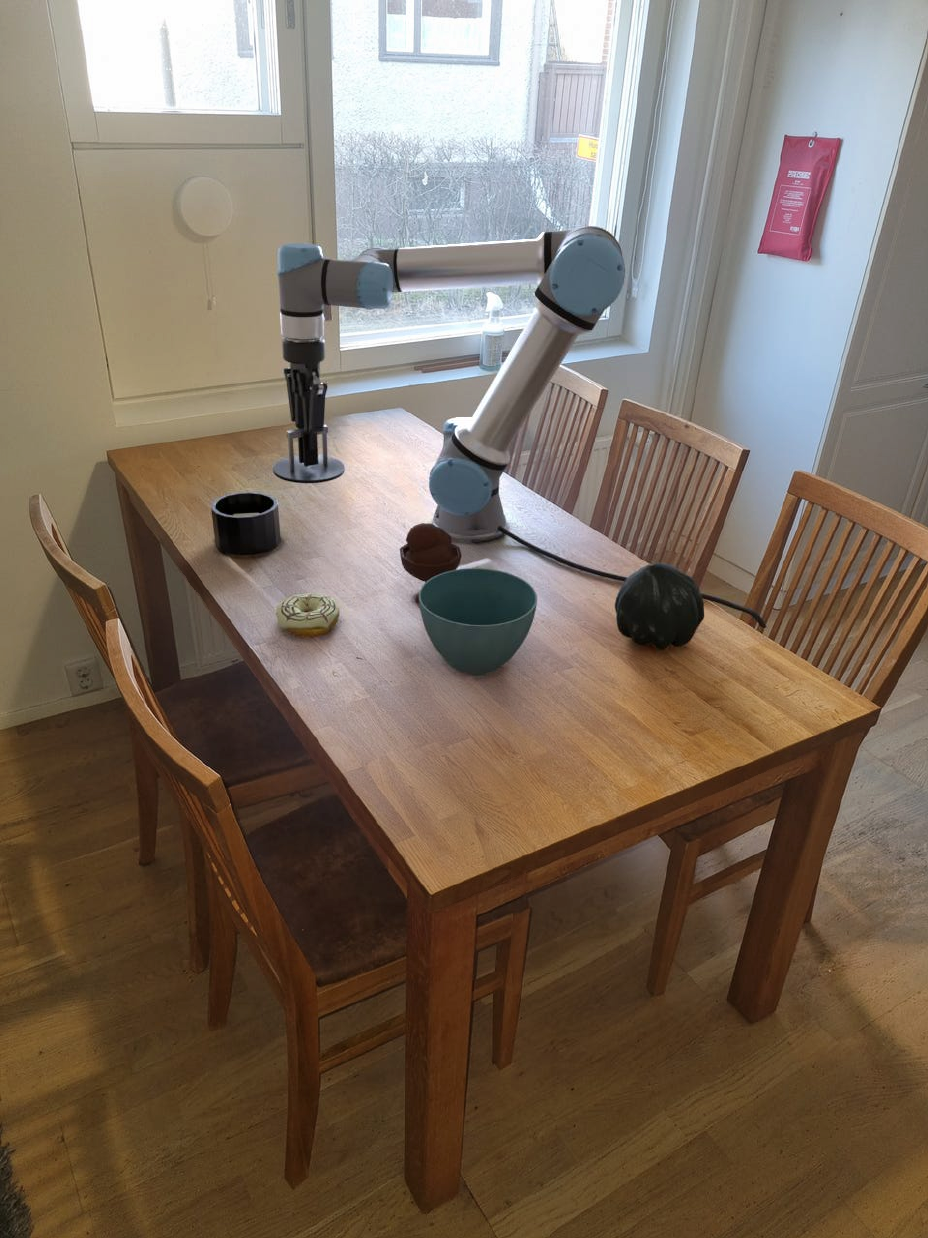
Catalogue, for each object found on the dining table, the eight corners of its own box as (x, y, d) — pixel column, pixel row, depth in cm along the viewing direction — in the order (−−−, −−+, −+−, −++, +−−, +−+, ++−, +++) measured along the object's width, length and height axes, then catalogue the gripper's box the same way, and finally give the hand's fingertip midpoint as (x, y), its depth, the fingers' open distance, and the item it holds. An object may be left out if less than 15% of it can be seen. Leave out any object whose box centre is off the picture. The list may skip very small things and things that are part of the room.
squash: (718, 595, 155) (669, 530, 151) (720, 642, 143) (667, 573, 139) (648, 632, 162) (599, 571, 158) (645, 681, 150) (592, 616, 145)
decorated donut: (274, 641, 149) (272, 621, 147) (281, 608, 158) (279, 589, 156) (337, 640, 149) (336, 620, 147) (341, 607, 159) (340, 588, 157)
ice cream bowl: (454, 617, 157) (456, 539, 149) (392, 609, 159) (391, 531, 151) (466, 589, 166) (468, 514, 158) (407, 582, 168) (407, 507, 160)
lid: (357, 478, 172) (356, 433, 168) (292, 491, 165) (289, 445, 161) (324, 456, 182) (323, 413, 177) (261, 467, 175) (258, 423, 170)
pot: (291, 548, 178) (288, 508, 174) (231, 563, 172) (226, 522, 168) (264, 525, 187) (261, 487, 183) (206, 539, 181) (201, 499, 176)
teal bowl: (495, 708, 134) (499, 637, 128) (396, 669, 142) (395, 601, 136) (551, 653, 148) (557, 588, 142) (457, 621, 156) (459, 557, 150)
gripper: (341, 344, 158) (344, 471, 169) (304, 326, 167) (309, 448, 179) (302, 348, 154) (307, 479, 166) (266, 330, 164) (274, 454, 176)
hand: (308, 462), depth 173 cm, fingers closed on lid
